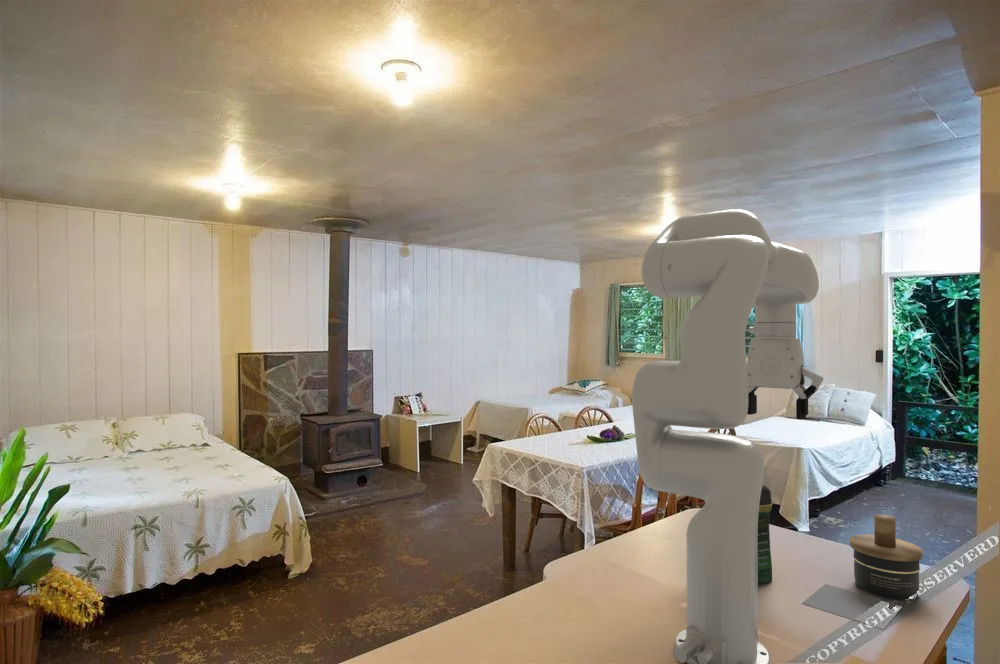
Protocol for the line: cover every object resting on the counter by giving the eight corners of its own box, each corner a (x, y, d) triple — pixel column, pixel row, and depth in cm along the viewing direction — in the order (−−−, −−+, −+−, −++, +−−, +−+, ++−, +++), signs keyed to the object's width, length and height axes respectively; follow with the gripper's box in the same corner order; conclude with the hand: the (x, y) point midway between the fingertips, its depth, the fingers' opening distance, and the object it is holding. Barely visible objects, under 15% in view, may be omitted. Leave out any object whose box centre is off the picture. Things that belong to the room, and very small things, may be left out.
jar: (855, 576, 110) (854, 537, 110) (919, 589, 104) (918, 547, 104) (852, 595, 102) (851, 552, 102) (921, 610, 96) (920, 564, 96)
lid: (914, 566, 95) (913, 531, 96) (841, 549, 104) (840, 516, 104) (929, 551, 103) (928, 517, 103) (860, 535, 111) (859, 504, 111)
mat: (884, 633, 88) (884, 629, 88) (801, 606, 97) (801, 603, 97) (903, 609, 96) (903, 606, 96) (825, 587, 105) (825, 583, 105)
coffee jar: (780, 585, 106) (780, 485, 106) (745, 590, 103) (745, 488, 104) (743, 565, 115) (743, 473, 115) (710, 570, 112) (710, 476, 113)
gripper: (725, 332, 119) (725, 413, 119) (815, 331, 106) (815, 422, 106) (741, 333, 124) (741, 411, 124) (828, 332, 112) (829, 419, 111)
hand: (775, 416), depth 115 cm, fingers open, 9 cm apart
